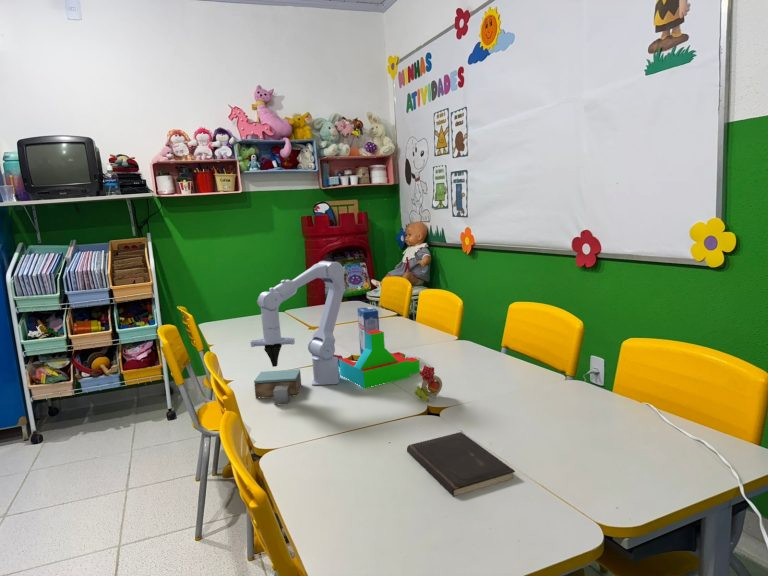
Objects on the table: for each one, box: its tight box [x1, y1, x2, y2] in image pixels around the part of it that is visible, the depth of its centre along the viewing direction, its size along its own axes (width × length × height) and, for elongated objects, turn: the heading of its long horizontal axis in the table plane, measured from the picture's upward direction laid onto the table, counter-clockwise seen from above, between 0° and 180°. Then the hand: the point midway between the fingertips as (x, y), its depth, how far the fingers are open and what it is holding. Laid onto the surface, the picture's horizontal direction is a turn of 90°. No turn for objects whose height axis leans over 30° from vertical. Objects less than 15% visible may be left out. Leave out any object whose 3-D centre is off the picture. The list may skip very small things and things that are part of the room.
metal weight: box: [273, 385, 291, 406], centre depth 168 cm, size 4×4×5 cm
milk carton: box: [357, 306, 380, 355], centre depth 214 cm, size 10×6×20 cm, turn 17°
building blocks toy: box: [339, 329, 421, 389], centre depth 189 cm, size 19×25×18 cm
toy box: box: [253, 372, 302, 399], centre depth 179 cm, size 14×11×5 cm
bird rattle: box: [413, 365, 443, 402], centre depth 164 cm, size 6×11×9 cm
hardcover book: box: [406, 431, 516, 497], centre depth 122 cm, size 16×23×2 cm
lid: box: [253, 368, 301, 384], centre depth 178 cm, size 14×11×1 cm
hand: (275, 365), depth 174 cm, fingers closed
